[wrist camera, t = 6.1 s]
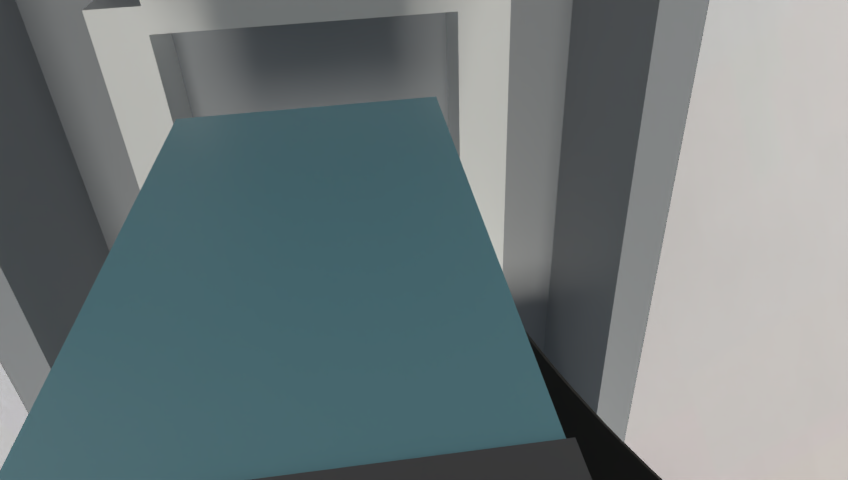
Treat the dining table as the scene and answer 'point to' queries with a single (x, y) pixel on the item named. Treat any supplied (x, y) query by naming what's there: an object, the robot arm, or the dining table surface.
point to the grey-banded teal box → (299, 318)
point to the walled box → (349, 84)
